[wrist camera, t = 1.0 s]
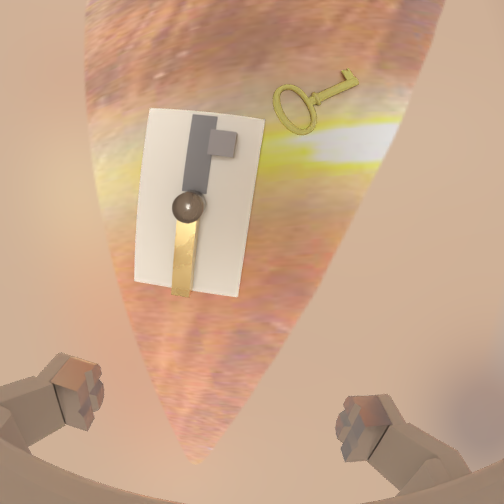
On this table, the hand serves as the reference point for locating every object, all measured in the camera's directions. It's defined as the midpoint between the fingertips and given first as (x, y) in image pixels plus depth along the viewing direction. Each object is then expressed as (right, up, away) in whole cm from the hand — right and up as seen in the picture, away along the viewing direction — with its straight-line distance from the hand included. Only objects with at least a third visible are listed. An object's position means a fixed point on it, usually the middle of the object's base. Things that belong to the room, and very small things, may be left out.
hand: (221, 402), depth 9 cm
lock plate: (-7, +11, +31) cm, 34 cm away
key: (+9, +25, +28) cm, 39 cm away
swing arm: (-7, +6, +31) cm, 32 cm away
